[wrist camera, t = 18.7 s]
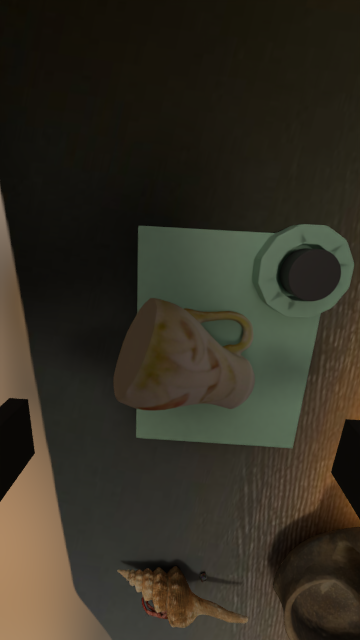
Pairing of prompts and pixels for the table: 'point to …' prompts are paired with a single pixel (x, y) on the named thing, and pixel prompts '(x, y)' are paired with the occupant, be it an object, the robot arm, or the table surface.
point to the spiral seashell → (175, 597)
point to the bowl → (322, 587)
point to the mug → (181, 360)
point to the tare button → (310, 274)
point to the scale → (257, 306)
